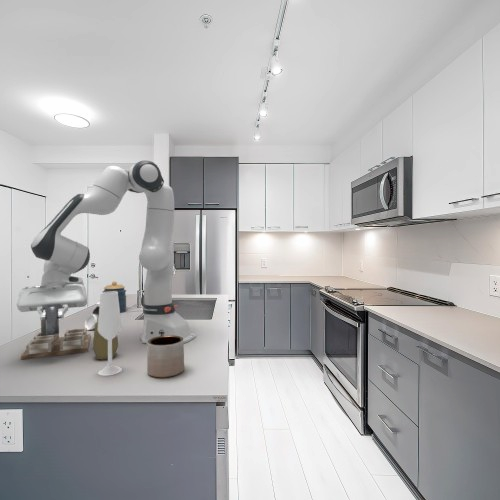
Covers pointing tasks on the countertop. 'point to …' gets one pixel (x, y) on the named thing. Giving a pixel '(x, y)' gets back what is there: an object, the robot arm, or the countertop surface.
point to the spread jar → (92, 318)
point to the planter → (165, 356)
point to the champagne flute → (109, 326)
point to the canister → (121, 294)
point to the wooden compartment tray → (57, 343)
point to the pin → (52, 320)
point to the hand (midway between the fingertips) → (51, 318)
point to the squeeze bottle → (103, 345)
